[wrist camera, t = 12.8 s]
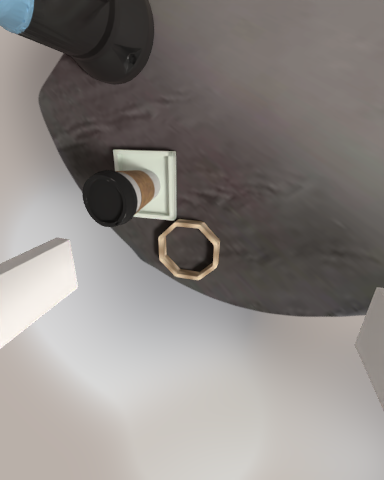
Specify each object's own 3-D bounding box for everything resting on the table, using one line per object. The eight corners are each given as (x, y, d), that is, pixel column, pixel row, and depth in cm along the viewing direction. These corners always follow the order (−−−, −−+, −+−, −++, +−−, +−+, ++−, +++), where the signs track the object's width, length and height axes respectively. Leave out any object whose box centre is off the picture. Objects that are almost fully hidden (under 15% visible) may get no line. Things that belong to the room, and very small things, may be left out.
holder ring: (161, 217, 51) (157, 220, 49) (221, 223, 48) (219, 226, 46) (163, 269, 56) (159, 274, 54) (217, 277, 53) (215, 283, 51)
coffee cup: (142, 212, 51) (100, 238, 38) (120, 176, 49) (67, 190, 36) (174, 193, 48) (140, 214, 34) (151, 154, 46) (105, 160, 33)
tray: (118, 149, 48) (112, 149, 46) (175, 151, 45) (172, 151, 43) (124, 212, 53) (119, 215, 51) (176, 217, 50) (173, 220, 48)
